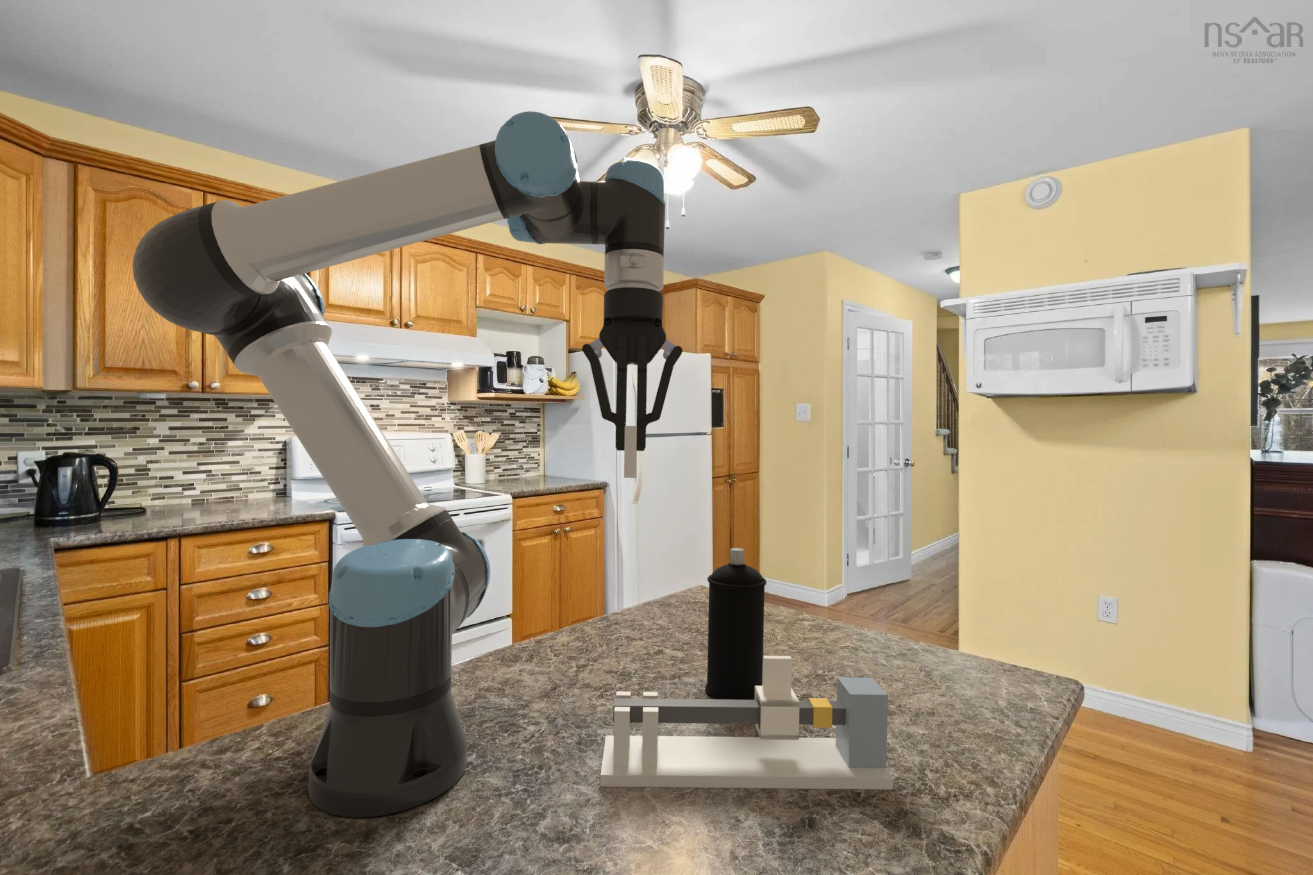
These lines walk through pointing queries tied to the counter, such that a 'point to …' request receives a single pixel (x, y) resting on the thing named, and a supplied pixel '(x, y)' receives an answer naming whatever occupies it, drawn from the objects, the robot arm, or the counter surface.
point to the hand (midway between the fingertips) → (630, 476)
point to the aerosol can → (735, 630)
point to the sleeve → (777, 700)
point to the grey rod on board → (751, 744)
